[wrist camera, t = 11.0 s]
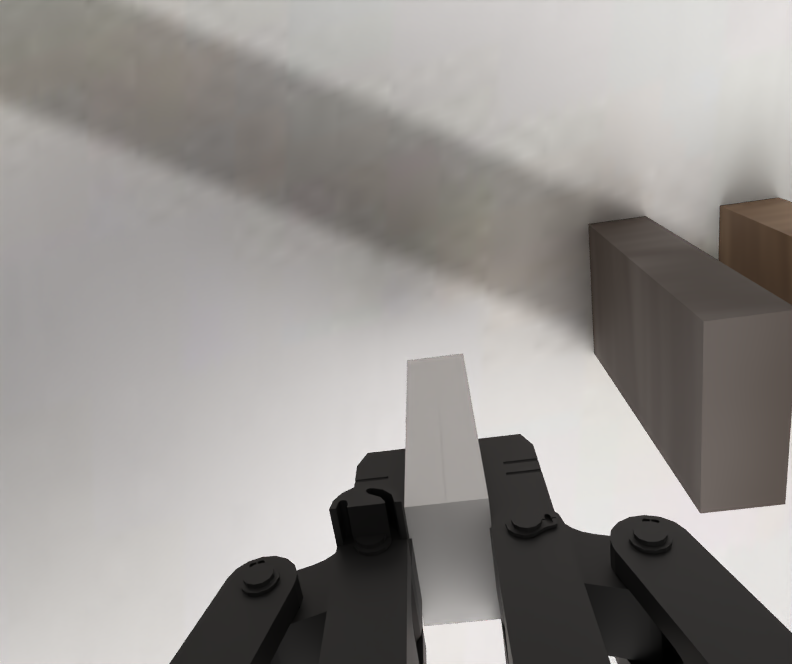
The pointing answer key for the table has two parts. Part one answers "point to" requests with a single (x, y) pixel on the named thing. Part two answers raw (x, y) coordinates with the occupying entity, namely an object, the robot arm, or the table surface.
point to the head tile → (696, 361)
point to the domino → (759, 243)
